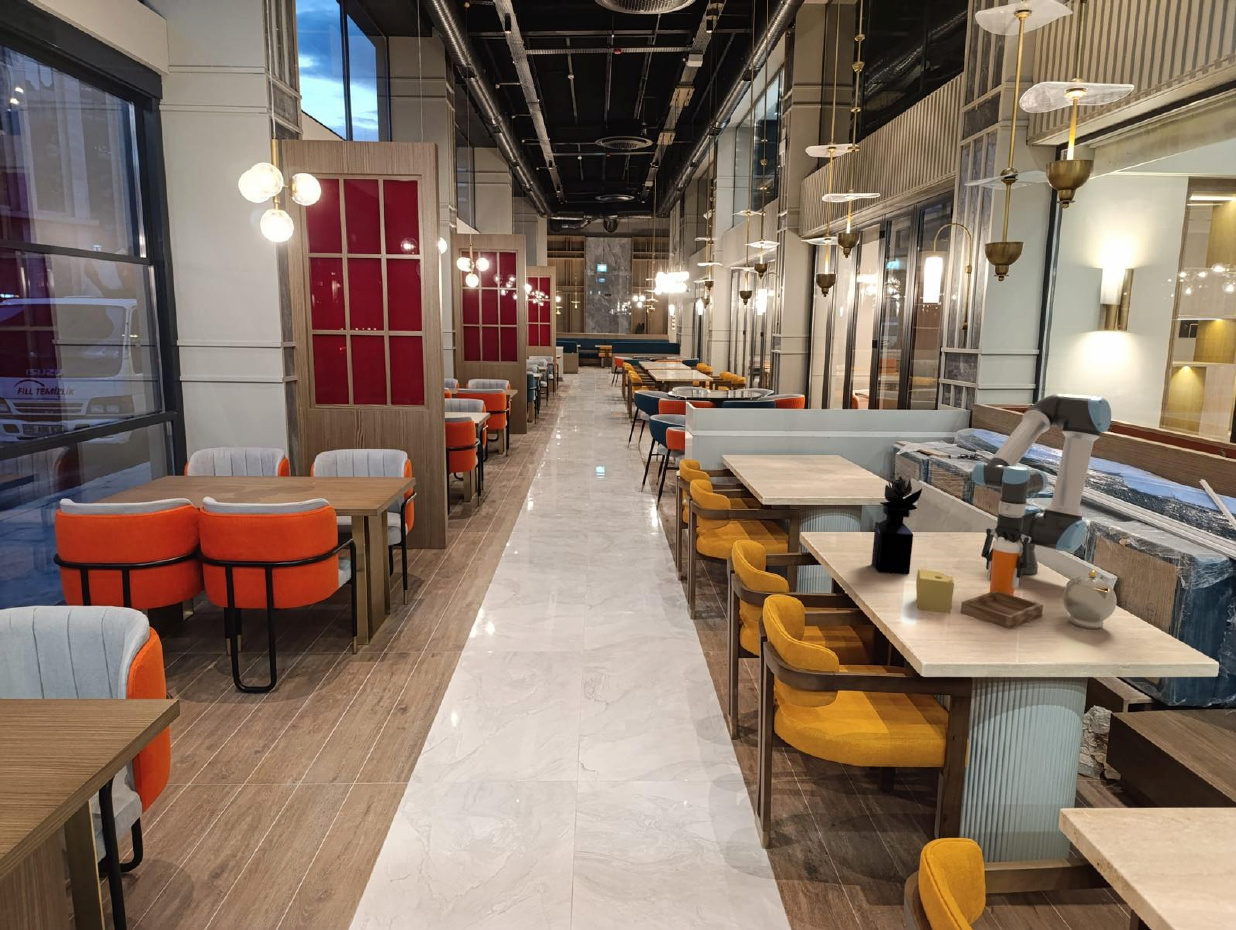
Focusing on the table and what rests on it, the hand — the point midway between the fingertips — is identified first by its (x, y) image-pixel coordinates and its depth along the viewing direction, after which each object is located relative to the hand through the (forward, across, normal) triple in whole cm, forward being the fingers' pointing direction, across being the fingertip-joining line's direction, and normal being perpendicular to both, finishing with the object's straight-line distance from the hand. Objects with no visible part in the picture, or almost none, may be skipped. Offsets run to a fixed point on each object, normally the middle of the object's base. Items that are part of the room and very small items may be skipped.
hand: (1002, 583), depth 258 cm
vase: (+5, -37, -6) cm, 38 cm away
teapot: (+4, +26, -3) cm, 27 cm away
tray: (+4, +9, -18) cm, 21 cm away
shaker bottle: (+4, 0, 0) cm, 4 cm away
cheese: (+5, -7, -29) cm, 30 cm away
